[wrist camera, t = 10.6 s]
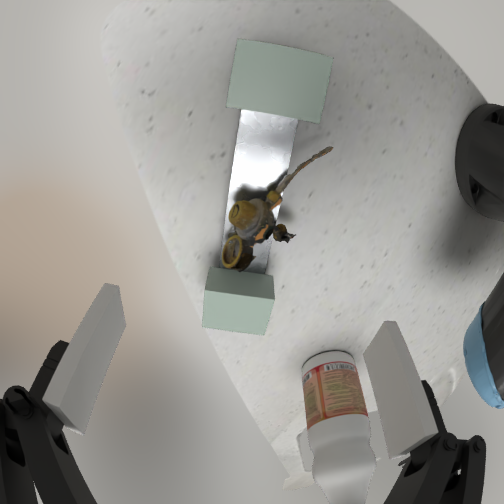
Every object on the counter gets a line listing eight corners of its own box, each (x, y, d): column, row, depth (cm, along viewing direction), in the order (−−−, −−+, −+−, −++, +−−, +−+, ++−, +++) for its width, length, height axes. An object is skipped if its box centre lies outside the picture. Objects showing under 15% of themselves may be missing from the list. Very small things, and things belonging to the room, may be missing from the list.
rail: (305, 62, 22) (310, 59, 19) (255, 296, 36) (255, 310, 34) (252, 52, 21) (252, 48, 19) (217, 291, 36) (214, 304, 34)
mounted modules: (321, 62, 20) (333, 57, 16) (263, 310, 34) (264, 335, 31) (240, 47, 19) (237, 38, 16) (206, 303, 34) (202, 327, 30)
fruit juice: (344, 341, 41) (378, 514, 18) (360, 367, 45) (390, 510, 22) (291, 362, 44) (302, 528, 20) (313, 385, 48) (328, 524, 25)
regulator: (301, 119, 23) (195, 239, 27) (326, 129, 20) (203, 264, 24) (342, 167, 28) (248, 267, 32) (365, 182, 25) (261, 292, 29)
